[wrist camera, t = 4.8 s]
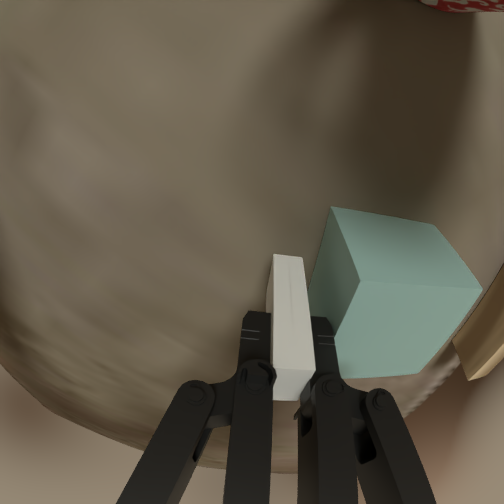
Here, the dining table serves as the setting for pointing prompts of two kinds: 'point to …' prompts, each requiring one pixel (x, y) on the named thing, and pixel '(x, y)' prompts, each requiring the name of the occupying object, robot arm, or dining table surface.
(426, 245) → the block
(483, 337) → the stop board
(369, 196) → the dining table surface
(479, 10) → the mug
